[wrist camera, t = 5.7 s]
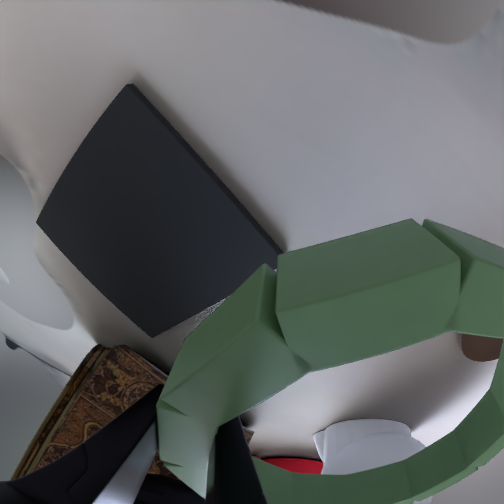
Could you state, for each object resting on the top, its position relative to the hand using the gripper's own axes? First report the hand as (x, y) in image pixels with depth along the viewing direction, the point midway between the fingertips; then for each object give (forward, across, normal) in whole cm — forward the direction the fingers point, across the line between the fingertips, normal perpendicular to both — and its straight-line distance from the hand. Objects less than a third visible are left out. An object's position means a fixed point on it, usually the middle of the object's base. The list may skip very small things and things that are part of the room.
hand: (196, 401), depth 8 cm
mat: (+8, +5, -2) cm, 10 cm away
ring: (+1, -6, 0) cm, 6 cm away
